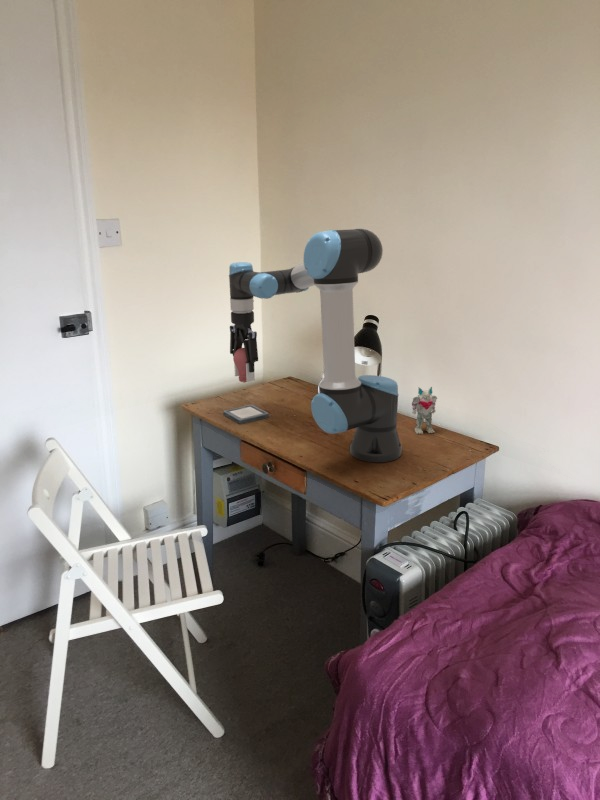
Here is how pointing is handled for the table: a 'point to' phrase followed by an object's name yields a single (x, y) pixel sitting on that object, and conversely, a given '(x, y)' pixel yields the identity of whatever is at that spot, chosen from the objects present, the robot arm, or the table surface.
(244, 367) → the light bulb
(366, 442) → the robot arm
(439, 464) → the table surface
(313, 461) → the table surface
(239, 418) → the holder
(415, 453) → the table surface
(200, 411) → the table surface
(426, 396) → the figurine
